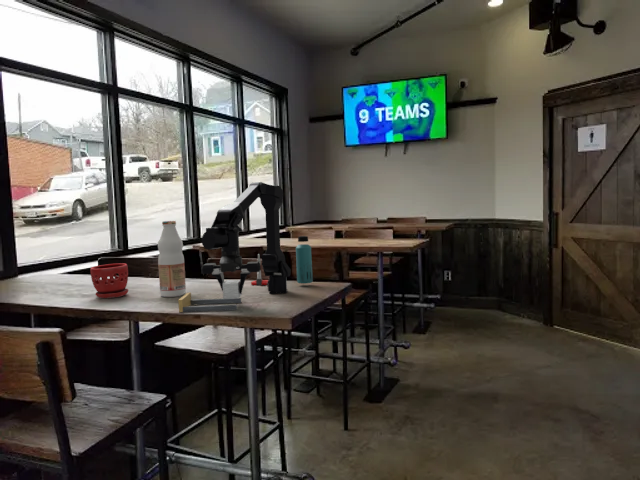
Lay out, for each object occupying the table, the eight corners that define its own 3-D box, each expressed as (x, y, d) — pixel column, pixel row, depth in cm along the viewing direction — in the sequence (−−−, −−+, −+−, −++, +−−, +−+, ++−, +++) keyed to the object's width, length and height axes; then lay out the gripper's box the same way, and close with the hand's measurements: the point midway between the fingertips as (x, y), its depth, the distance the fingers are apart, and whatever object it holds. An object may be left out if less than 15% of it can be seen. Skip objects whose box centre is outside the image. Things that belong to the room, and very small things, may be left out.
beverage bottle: (307, 287, 196) (305, 236, 195) (293, 286, 200) (291, 236, 198) (316, 285, 202) (314, 235, 200) (302, 284, 205) (300, 235, 204)
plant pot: (112, 292, 200) (110, 262, 199) (136, 294, 194) (135, 263, 193) (84, 298, 189) (82, 267, 188) (109, 300, 183) (107, 268, 182)
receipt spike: (255, 282, 215) (248, 285, 206) (254, 252, 215) (248, 254, 206) (274, 282, 214) (268, 285, 205) (273, 252, 214) (268, 254, 205)
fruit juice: (157, 297, 185) (152, 222, 183) (164, 293, 195) (159, 221, 193) (182, 296, 186) (178, 221, 183) (188, 292, 195) (184, 220, 193)
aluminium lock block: (241, 294, 169) (241, 279, 169) (238, 298, 163) (237, 283, 162) (226, 294, 169) (226, 280, 169) (223, 298, 162) (222, 283, 162)
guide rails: (241, 302, 172) (240, 290, 172) (236, 309, 160) (235, 297, 160) (187, 304, 172) (187, 292, 172) (179, 312, 159) (178, 299, 159)
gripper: (196, 250, 156) (199, 299, 158) (256, 248, 157) (258, 297, 158) (203, 246, 167) (205, 293, 169) (259, 244, 168) (261, 290, 169)
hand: (232, 293), depth 166 cm, fingers closed on aluminium lock block, 5 cm apart
